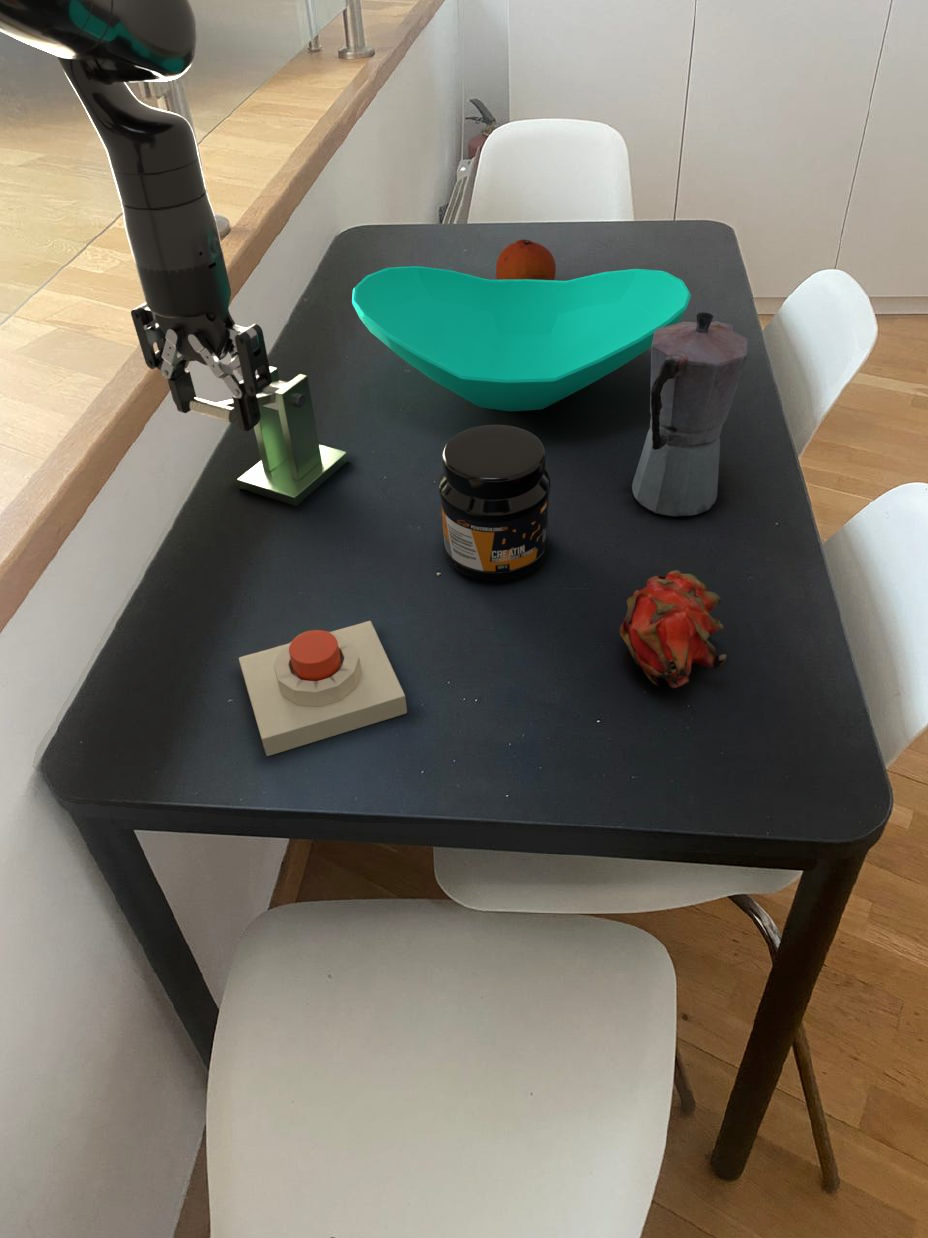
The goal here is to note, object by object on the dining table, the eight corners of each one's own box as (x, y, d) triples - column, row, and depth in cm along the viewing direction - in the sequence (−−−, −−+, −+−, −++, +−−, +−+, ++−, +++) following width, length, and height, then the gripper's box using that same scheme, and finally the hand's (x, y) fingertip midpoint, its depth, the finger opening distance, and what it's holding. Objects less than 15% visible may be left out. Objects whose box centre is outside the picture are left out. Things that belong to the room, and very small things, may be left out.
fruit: (563, 301, 136) (565, 246, 130) (505, 309, 134) (504, 254, 129) (545, 278, 142) (547, 225, 137) (490, 286, 141) (489, 232, 135)
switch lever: (228, 429, 89) (228, 404, 88) (189, 417, 91) (188, 393, 89) (305, 409, 98) (306, 386, 97) (268, 399, 100) (269, 377, 99)
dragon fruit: (672, 620, 86) (671, 729, 79) (601, 580, 83) (593, 688, 76) (740, 575, 80) (745, 688, 73) (666, 530, 77) (664, 642, 70)
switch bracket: (296, 506, 100) (277, 409, 92) (238, 488, 103) (215, 393, 95) (348, 460, 106) (334, 366, 98) (292, 444, 109) (275, 352, 101)
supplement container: (447, 591, 88) (440, 487, 80) (440, 525, 96) (433, 424, 88) (555, 582, 89) (559, 477, 81) (540, 517, 97) (542, 416, 88)
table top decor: (673, 346, 124) (686, 246, 115) (682, 458, 104) (698, 348, 95) (385, 339, 129) (376, 243, 120) (340, 445, 109) (324, 339, 100)
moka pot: (742, 474, 101) (777, 297, 87) (688, 550, 91) (717, 365, 78) (661, 452, 105) (682, 279, 91) (601, 522, 95) (614, 341, 82)
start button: (299, 686, 75) (295, 669, 73) (288, 655, 78) (283, 637, 76) (346, 673, 76) (343, 655, 74) (334, 641, 78) (330, 624, 77)
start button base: (266, 757, 74) (257, 724, 71) (243, 675, 81) (233, 642, 78) (407, 713, 77) (403, 680, 74) (373, 637, 84) (368, 605, 81)
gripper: (85, 252, 80) (138, 419, 91) (212, 279, 74) (251, 453, 86) (146, 224, 85) (189, 386, 96) (269, 247, 79) (300, 416, 90)
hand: (218, 417), depth 91 cm, fingers open, 7 cm apart
